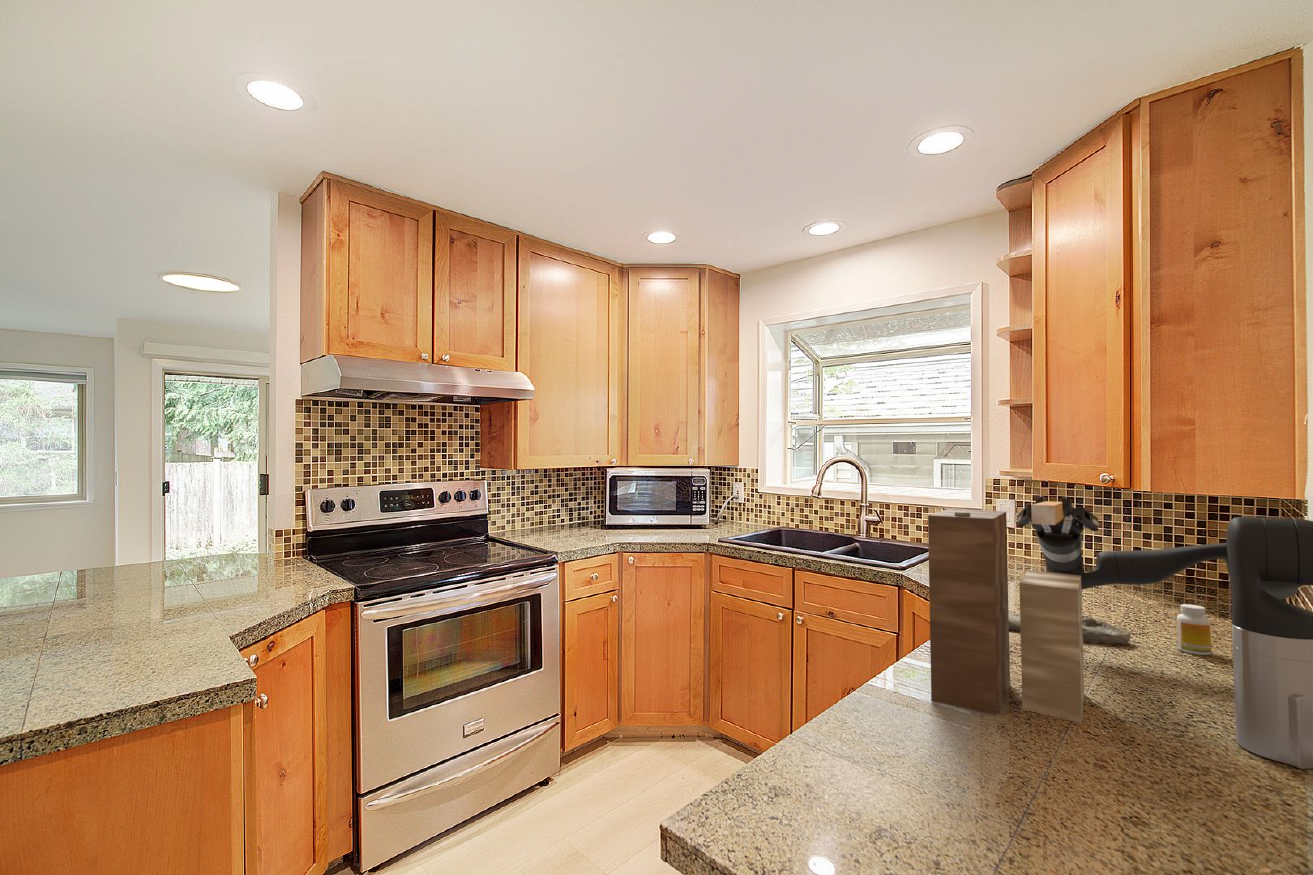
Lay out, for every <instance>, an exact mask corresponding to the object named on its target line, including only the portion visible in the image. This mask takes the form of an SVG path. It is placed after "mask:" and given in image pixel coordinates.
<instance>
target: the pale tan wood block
mask: <svg viewBox="0 0 1313 875" xmlns="http://www.w3.org/2000/svg"><path fill="white" fill-rule="evenodd" d="M1030 505H1031V511H1032V524H1043V525H1055V524H1057V523H1058V522H1059V521H1061V520H1062V519H1064V517H1065V516H1064V514H1063V506H1062V501H1049V500H1048V501H1047V500H1046V501H1045V502H1041V503H1037V504H1035V503H1032V504H1030Z"/></svg>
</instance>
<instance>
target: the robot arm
mask: <svg viewBox="0 0 1313 875" xmlns="http://www.w3.org/2000/svg"><path fill="white" fill-rule="evenodd" d="M1067 497H1068V496H1062V497H1061V502H1062V506H1063V514H1064V516H1065V517H1064V519H1062V520H1061V521H1059V522H1058V523H1057V524H1055V525H1043V524H1032V511H1031V505H1032V504H1027V505H1026V506H1025V507H1024V508H1022V510H1021V511H1020V512H1019V513H1018V514H1017V527H1019V528H1024V527H1026V526H1031V528H1032V529H1033V530H1035V532H1036V537H1037V542H1038V545H1039V547H1040V549H1041V551H1042V556H1043V558H1044V561H1045V568H1046V572H1050V573H1061V574H1071V575H1081V590H1086V589H1090V588H1095V587H1101V586H1107V585H1150V584H1151V585H1152V584H1156V583H1159V582H1162V581H1164V580H1167V579H1168V578H1170V577H1173V576H1175V575H1177V574H1179V573H1180V572H1182V571H1184V570H1187V569H1188V568H1191V567H1192V566H1195V565H1197V564H1199V563H1203V562H1207V561H1213V560H1224V561H1225V565H1226V568H1227V572H1228V577H1229V578H1228V579H1229V581H1230V591H1231V594H1230V595H1231V637H1232V638H1231V640H1232V643H1231V644H1232V665H1233V666H1232V667H1233V668H1232V669H1233V670H1232V672H1233V695H1234V696H1233V697H1234V698H1233V699H1234V721H1235V722H1234V723H1235V725H1234V726H1235V741H1236V743H1237V744H1238V745H1239V746H1240V747H1242V748H1243V749H1245V750H1247V751H1249V752H1251V753H1253V754H1255V755H1257V756H1260V757H1263V758H1267V759H1270V760H1273V761H1276V762H1280V763H1284V764H1287V765H1291V766H1293V767H1296V768H1298V769H1303V770H1305V769H1313V611H1312V610H1309V609H1307V608H1303V607H1300V606H1297V605H1294V604H1292V603H1289V602H1286V601H1284V600H1285V599H1288V598H1291V597H1294V596H1296V595H1297V593H1299V588H1302V587H1303V586H1310V587H1311V586H1313V520H1309V519H1303V518H1302V519H1301V518H1299V519H1298V518H1282V517H1281V518H1280V517H1279V518H1278V517H1260V516H1259V517H1256V516H1237V517H1233V518H1231V520H1230V521H1229V523H1228V525H1227V528H1226V537H1225V538H1226V540H1225V541H1226V542H1220V543H1219V542H1218V543H1208V544H1207V543H1206V544H1198V545H1188V546H1180V547H1179V546H1178V547H1170V548H1161V549H1149V550H1147V549H1145V550H1105V551H1099V552H1098V553H1097V555H1096V560H1095V568H1093V569H1091V570H1090V571H1086V572H1085V567H1084V560H1083V551H1082V550H1083V544H1084V543H1083V537H1082V536H1083V535H1082V532H1083V531H1084V529H1086V530H1087V529H1088V530H1090V531H1092V532H1098V531H1099V518H1098V517H1097V516H1096V515H1094V514H1093V513H1092V512H1090V511H1089V510H1088V509H1086V507H1084V506H1077V507H1074V506H1073V503H1072V502H1073V501H1072V500H1071V499H1068V498H1067ZM1041 502H1045V496H1044V495H1043V496H1039V498H1036V499H1035V502H1034V504H1037V503H1041ZM1283 599H1284V600H1283Z"/></svg>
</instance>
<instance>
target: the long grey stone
mask: <svg viewBox="0 0 1313 875" xmlns="http://www.w3.org/2000/svg"><path fill="white" fill-rule="evenodd" d="M1082 626H1083V642H1086V643H1090V644H1097V645H1098V644H1099V643H1102V644H1110V645H1111V644H1121V645H1127V644H1129V643H1130V641H1131V634H1130V633H1129V632H1128V631H1127V630H1125V629H1122V628H1119V627H1116V626H1115V625H1112V624H1110V623H1108V622H1106V621H1103V620H1101V619H1095V618H1093V617H1092V616H1089V615H1083V614H1082ZM1009 629H1011V630H1010V631H1012V630H1016V631H1015V632H1018V631H1019V632H1018V633H1021V627H1020V613H1015V612H1009Z"/></svg>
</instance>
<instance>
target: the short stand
mask: <svg viewBox="0 0 1313 875" xmlns="http://www.w3.org/2000/svg"><path fill="white" fill-rule="evenodd" d="M1082 594H1083V593H1082V590H1081V575H1071V574H1061V573H1050V572H1047V571H1038V570H1029V569H1028V571H1026V573H1025V574H1024V576H1023V577H1022V579H1021V580H1020V582H1019V611H1020V612H1019V614H1020V627H1021V632H1020V659H1021V660H1020V664H1021V665H1020V666H1021V667H1020V668H1021V669H1020V670H1021V702H1022V703H1021V704H1022V711H1025V710H1027V711H1026V712H1029V711H1031V713H1034V712H1036V713H1035V714H1038V713H1040V714H1039V715H1043V714H1044V715H1043V716H1047V715H1049V716H1048V717H1052V716H1054V717H1053V718H1056V717H1057V718H1058V719H1061V720H1065V719H1067V720H1066V721H1070V722H1075V723H1080V724H1082V723H1083V722H1082V721H1083V712H1084V700H1085V677H1084V676H1085V673H1084V672H1085V671H1084V670H1085V669H1084V666H1085V665H1084V641H1083V626H1082V615H1083V599H1082V598H1083V597H1082V596H1083V595H1082Z"/></svg>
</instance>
